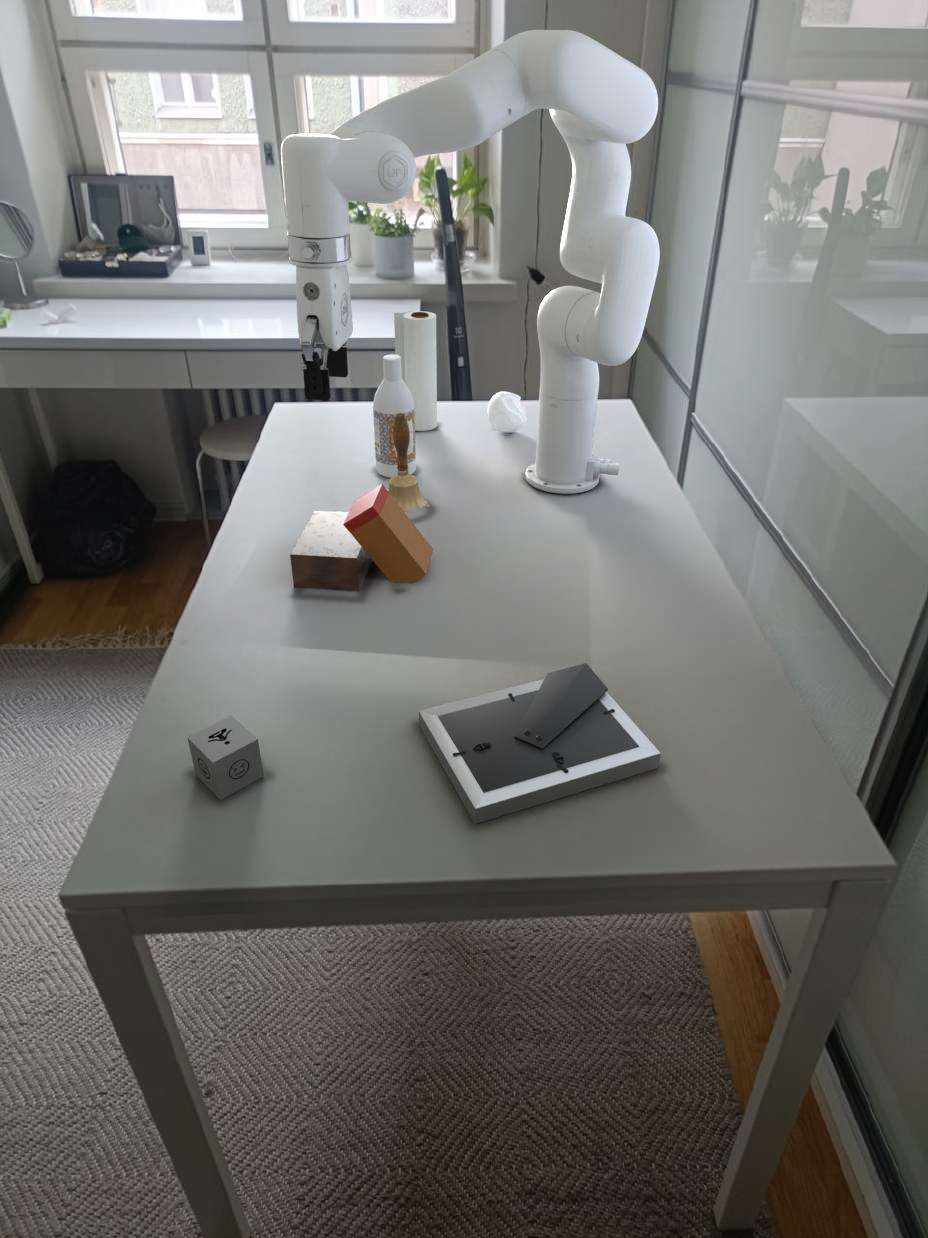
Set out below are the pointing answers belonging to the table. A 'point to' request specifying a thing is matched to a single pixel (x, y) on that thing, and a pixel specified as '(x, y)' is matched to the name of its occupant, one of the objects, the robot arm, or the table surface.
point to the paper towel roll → (418, 363)
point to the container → (389, 536)
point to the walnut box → (328, 555)
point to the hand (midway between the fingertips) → (327, 387)
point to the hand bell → (404, 470)
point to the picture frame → (535, 742)
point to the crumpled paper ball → (506, 412)
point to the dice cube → (226, 757)
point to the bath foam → (392, 418)
